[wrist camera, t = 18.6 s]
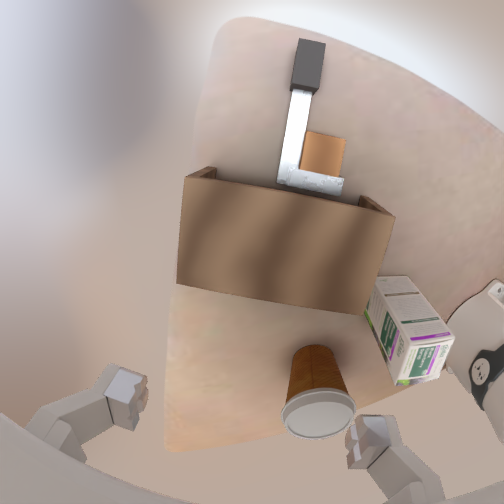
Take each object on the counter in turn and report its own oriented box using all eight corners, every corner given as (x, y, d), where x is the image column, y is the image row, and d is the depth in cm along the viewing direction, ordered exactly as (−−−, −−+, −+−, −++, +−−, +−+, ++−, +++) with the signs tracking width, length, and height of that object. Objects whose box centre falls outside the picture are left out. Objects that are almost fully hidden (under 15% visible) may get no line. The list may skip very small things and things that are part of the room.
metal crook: (359, 66, 27) (371, 56, 23) (336, 192, 33) (345, 201, 28) (296, 51, 27) (299, 38, 23) (273, 179, 33) (273, 187, 29)
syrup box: (368, 275, 37) (406, 346, 23) (408, 274, 36) (457, 338, 23) (363, 312, 39) (392, 388, 25) (401, 310, 38) (440, 380, 25)
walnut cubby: (368, 197, 33) (395, 217, 24) (346, 276, 37) (362, 315, 28) (208, 166, 33) (184, 177, 25) (198, 250, 37) (176, 283, 29)
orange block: (338, 139, 31) (345, 139, 27) (331, 173, 32) (338, 177, 29) (303, 131, 31) (307, 131, 27) (297, 165, 32) (300, 169, 29)
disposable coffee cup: (331, 384, 44) (340, 443, 33) (275, 376, 44) (272, 437, 33) (353, 340, 40) (370, 401, 29) (290, 330, 41) (292, 394, 29)
